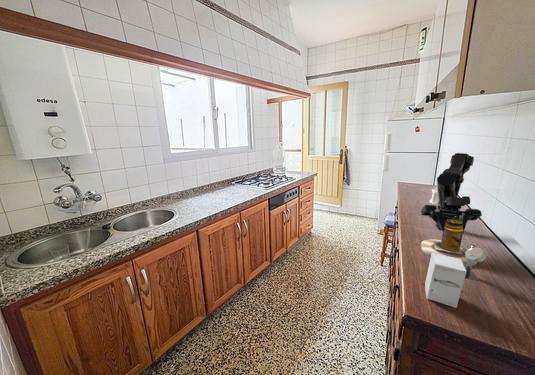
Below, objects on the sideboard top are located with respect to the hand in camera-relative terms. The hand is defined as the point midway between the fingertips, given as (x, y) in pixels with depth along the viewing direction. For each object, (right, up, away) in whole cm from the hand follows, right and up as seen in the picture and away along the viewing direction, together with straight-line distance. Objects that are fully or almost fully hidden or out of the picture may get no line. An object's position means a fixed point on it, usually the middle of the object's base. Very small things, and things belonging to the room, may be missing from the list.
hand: (452, 232), depth 86 cm
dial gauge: (-3, -13, -9) cm, 16 cm away
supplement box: (-20, -16, -19) cm, 32 cm away
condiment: (0, -7, +3) cm, 8 cm away
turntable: (0, -9, +3) cm, 10 cm away
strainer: (+32, +3, +51) cm, 61 cm away
